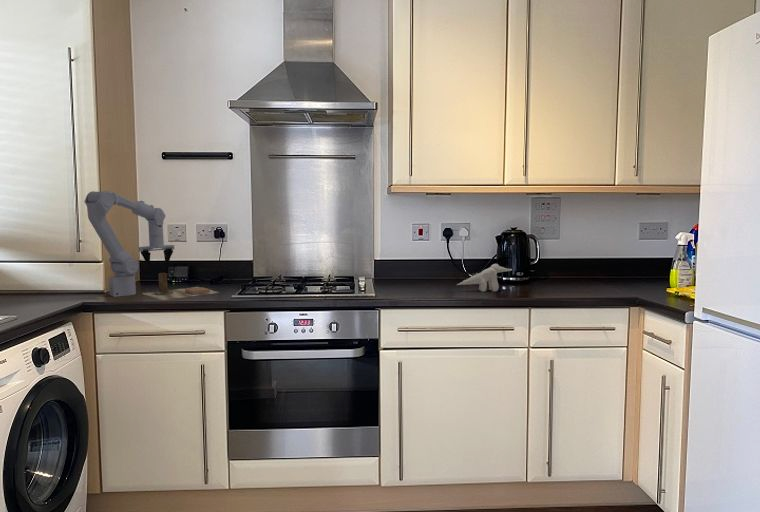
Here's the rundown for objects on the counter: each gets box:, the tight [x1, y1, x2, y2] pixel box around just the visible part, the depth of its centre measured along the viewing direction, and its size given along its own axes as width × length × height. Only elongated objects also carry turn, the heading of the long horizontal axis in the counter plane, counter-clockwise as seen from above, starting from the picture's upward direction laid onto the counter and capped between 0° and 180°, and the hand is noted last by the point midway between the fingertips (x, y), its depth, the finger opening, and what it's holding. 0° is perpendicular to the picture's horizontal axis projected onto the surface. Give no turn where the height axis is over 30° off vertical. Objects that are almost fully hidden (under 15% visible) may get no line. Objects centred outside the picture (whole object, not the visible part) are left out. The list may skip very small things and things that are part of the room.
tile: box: [185, 286, 211, 295], centre depth 217 cm, size 7×2×8 cm
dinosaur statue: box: [456, 263, 513, 293], centre depth 218 cm, size 7×24×11 cm, turn 94°
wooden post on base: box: [153, 272, 173, 296], centre depth 215 cm, size 6×5×8 cm
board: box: [141, 286, 221, 301], centre depth 217 cm, size 24×22×1 cm
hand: (157, 267), depth 229 cm, fingers open, 7 cm apart
